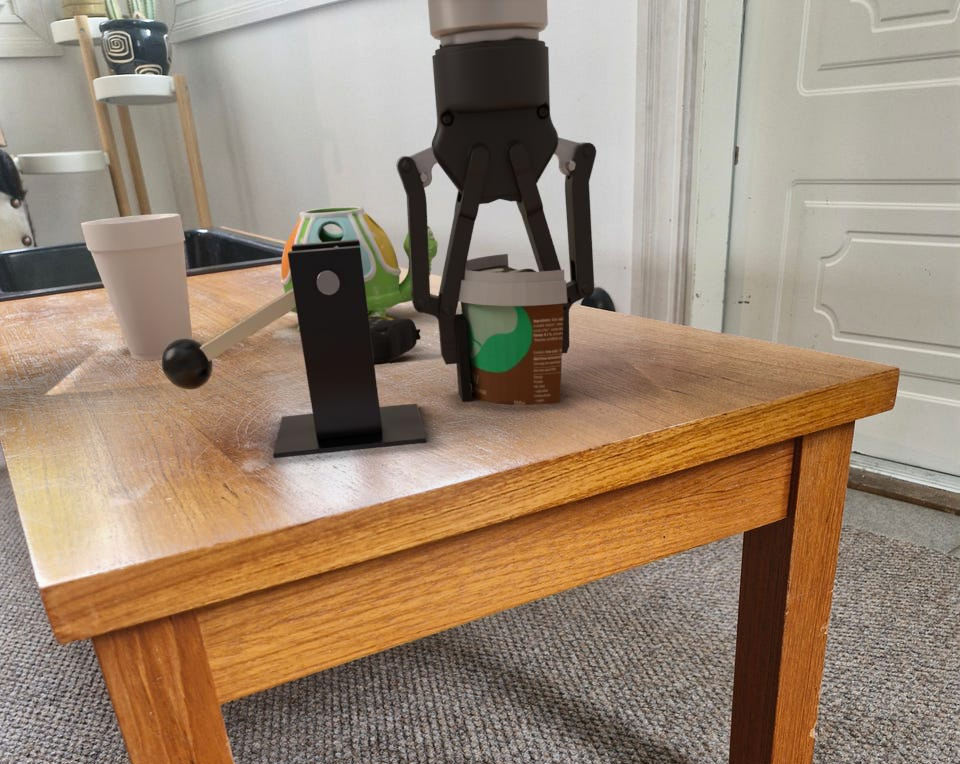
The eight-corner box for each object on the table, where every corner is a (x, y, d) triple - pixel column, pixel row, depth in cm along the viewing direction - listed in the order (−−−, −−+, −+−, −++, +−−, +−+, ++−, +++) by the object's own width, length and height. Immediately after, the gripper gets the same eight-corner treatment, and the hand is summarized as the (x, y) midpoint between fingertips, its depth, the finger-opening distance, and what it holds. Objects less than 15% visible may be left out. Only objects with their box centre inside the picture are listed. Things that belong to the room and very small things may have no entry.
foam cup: (97, 364, 92) (60, 226, 86) (147, 344, 100) (116, 216, 94) (179, 363, 90) (147, 221, 84) (223, 343, 98) (197, 212, 91)
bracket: (275, 471, 59) (237, 261, 52) (284, 432, 66) (251, 245, 60) (427, 455, 59) (407, 246, 53) (418, 418, 67) (400, 232, 61)
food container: (439, 391, 73) (429, 260, 68) (509, 382, 75) (505, 252, 70) (487, 430, 63) (480, 279, 58) (568, 418, 65) (567, 270, 60)
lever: (178, 403, 59) (146, 360, 57) (186, 391, 61) (156, 350, 60) (361, 291, 57) (333, 243, 55) (360, 284, 59) (334, 238, 58)
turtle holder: (449, 322, 100) (439, 204, 94) (285, 337, 98) (265, 218, 92) (438, 304, 111) (429, 197, 105) (290, 318, 109) (273, 209, 103)
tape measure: (391, 372, 81) (387, 329, 79) (325, 370, 83) (319, 328, 81) (422, 355, 86) (419, 314, 84) (359, 353, 89) (355, 313, 87)
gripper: (342, 45, 53) (387, 427, 65) (649, 25, 55) (640, 402, 66) (343, 55, 60) (384, 401, 71) (617, 37, 61) (614, 378, 73)
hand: (507, 401), depth 69 cm, fingers closed on food container, 6 cm apart
